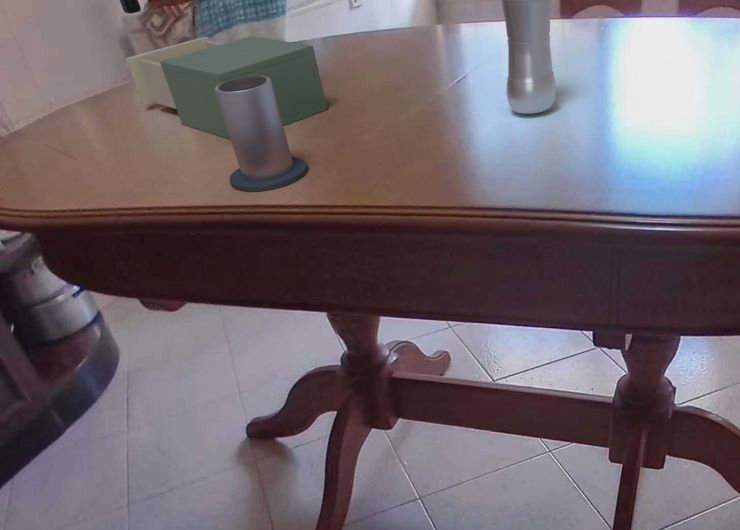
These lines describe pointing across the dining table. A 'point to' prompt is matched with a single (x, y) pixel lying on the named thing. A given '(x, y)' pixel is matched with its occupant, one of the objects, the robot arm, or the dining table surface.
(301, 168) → the coaster
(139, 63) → the drawer
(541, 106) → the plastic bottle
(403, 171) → the dining table surface
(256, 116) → the gray cup
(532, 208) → the dining table surface
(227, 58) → the green box
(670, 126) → the dining table surface
